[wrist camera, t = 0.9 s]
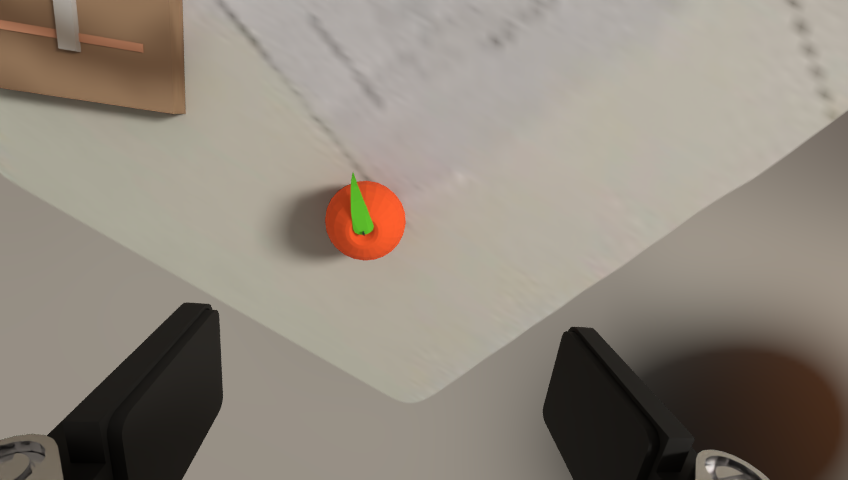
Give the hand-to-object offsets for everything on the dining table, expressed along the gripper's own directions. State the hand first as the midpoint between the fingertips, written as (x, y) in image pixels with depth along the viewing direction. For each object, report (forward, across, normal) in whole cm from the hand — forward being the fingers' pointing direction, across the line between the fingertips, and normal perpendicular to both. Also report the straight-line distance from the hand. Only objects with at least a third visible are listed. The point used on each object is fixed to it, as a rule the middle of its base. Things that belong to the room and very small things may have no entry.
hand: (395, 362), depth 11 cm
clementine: (+28, +2, +3) cm, 28 cm away
